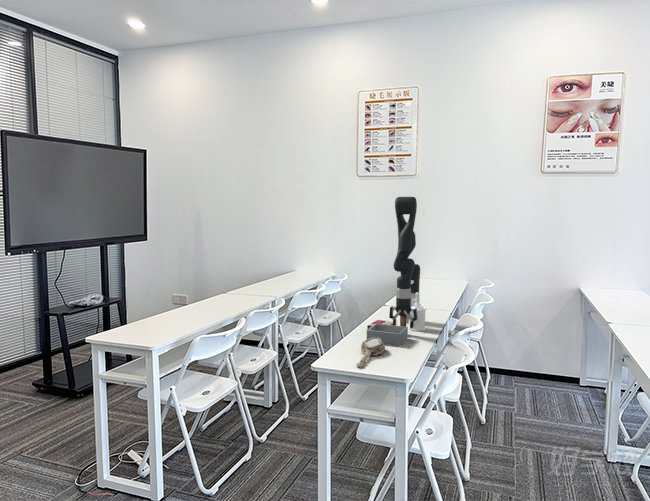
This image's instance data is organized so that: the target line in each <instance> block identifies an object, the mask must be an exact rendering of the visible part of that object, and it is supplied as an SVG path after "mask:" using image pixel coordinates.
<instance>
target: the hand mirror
mask: <svg viewBox="0 0 650 501" xmlns="http://www.w3.org/2000/svg"><path fill="white" fill-rule="evenodd" d="M385 349H386V347H385V344H384V343H383V342H382V340H381V339H380V338H375V337H372V338H369V339H367V338H366V339H365V340H363V341H362V342H361V346H360V352H362V354H363V356H362V357H361V358H360V360H359V361H358V362H357V363H356V364H355V365H356V367H357V368H358V367H361V368H363V367H364V366H365V365H364V363H366V362H367V360H368V358H369V357H372V356H378V355H380V354H381V355H382V354H383V353H384V352H385Z"/></svg>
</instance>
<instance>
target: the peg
mask: <svg viewBox="0 0 650 501" xmlns="http://www.w3.org/2000/svg"><path fill="white" fill-rule="evenodd" d="M399 326H404V327H407V323H406V317H405V316H399Z"/></svg>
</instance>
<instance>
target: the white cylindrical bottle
mask: <svg viewBox="0 0 650 501" xmlns="http://www.w3.org/2000/svg"><path fill="white" fill-rule="evenodd" d="M414 299H415V298H414ZM414 299H413V300H414ZM413 302H414V301H413ZM413 302H412V306H411V309H415V308H416V309H417V320H416V321H414V326H413V328H412V329H410V319H409V323H408V326H407V327H408V330H410V331H413V332H423V331H425V330H426V310H427V308H426V307H424V306H422V305H421V303H420V292H419V293H418V292H416V300H415V302H416V303H415V302H414V304H415V306H414V305H413ZM410 314H411V315H412V317H413V318H414V313H413V312H412V311H411V312H410ZM410 314H409V315H410Z"/></svg>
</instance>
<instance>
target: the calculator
mask: <svg viewBox="0 0 650 501" xmlns="http://www.w3.org/2000/svg"><path fill="white" fill-rule="evenodd" d="M375 323H377V324H386V325H393V321H391V320H382V319H377V320H375V321H373V322H371V323H369V324H368V325H367V329H366V331H367V330H368V329H369V328H370V327H371V326H373V325H374V324H375Z"/></svg>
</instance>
